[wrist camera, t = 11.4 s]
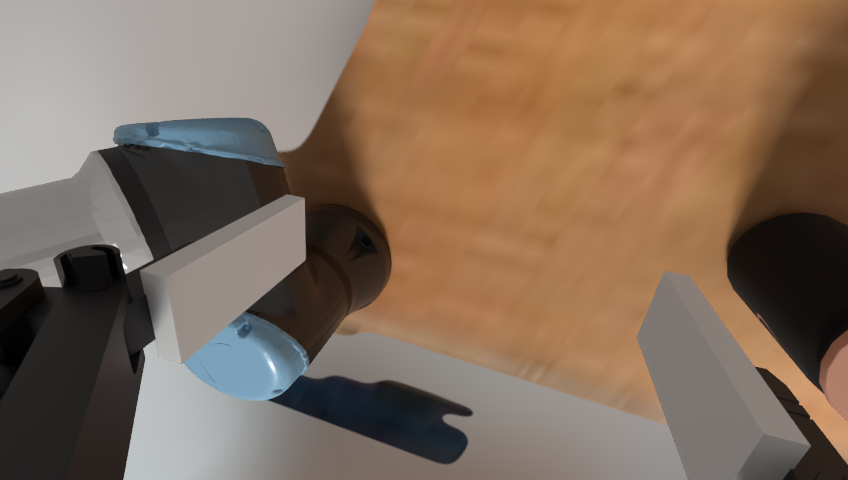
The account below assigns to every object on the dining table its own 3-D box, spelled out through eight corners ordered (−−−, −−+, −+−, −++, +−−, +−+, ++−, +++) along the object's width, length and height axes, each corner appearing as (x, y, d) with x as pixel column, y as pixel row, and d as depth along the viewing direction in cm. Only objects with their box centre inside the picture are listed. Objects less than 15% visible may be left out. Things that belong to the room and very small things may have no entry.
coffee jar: (702, 284, 45) (789, 407, 29) (757, 195, 40) (898, 283, 24) (807, 315, 43) (961, 464, 27) (878, 227, 38) (1114, 344, 22)
